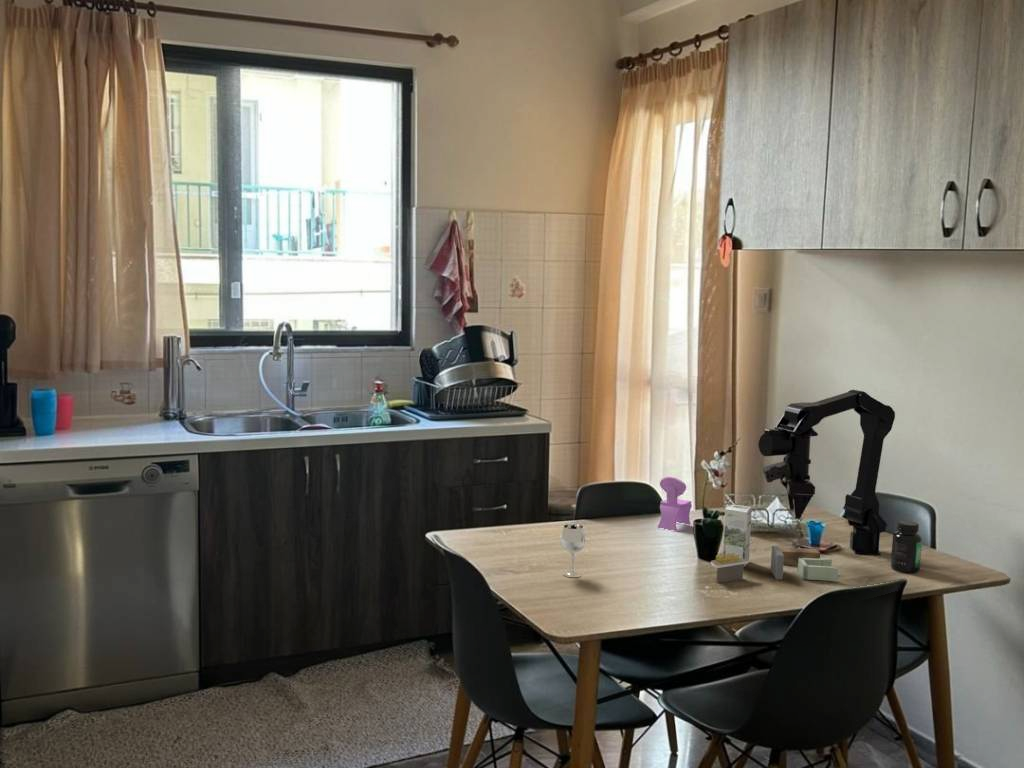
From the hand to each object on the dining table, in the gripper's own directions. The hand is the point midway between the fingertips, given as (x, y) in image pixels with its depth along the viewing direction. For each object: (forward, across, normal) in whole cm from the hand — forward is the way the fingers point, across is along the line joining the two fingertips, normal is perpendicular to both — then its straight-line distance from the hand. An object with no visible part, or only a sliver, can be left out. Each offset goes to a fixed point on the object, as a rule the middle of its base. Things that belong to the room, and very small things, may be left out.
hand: (794, 513), depth 258 cm
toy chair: (+12, -27, -29) cm, 42 cm away
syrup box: (+12, +5, -15) cm, 20 cm away
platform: (+13, +19, -18) cm, 29 cm away
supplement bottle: (+12, +3, +27) cm, 30 cm away
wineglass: (+12, +23, -55) cm, 61 cm away
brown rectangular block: (+12, +2, +1) cm, 13 cm away
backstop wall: (+12, +13, -6) cm, 19 cm away
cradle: (+12, +13, +4) cm, 18 cm away
